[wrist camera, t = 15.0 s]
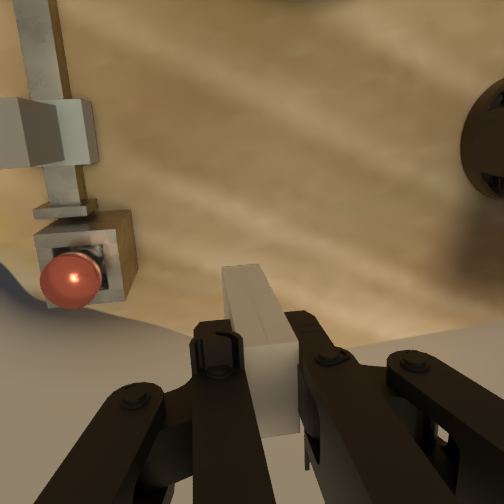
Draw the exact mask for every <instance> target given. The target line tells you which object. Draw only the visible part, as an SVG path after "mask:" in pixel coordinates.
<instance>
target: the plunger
mask: <svg viewBox="0 0 504 504" xmlns="http://www.w3.org/2000/svg"><path fill="white" fill-rule="evenodd" d="M104 267H105V258H104V252H103V248H102V247H101V246H100V245H98V244H97V245H84V246H78V247H77V248H76V249H75V250H74V251H73V252H66V253H62V254H60V255H58V256H56V257H55V258H54V259H52V260H51V261H50V262H49V263H48V264H47V265H46V266H45V267H44V269H43V271H42V273H41V276H40V286H41V289H42V292H43V294H44V295H45V297H46V298H47V299H48V300H49V301H50V302H52V303H53V304H55V305H57V306H59V307H62V308H66V309H76V308H80V307H83V306H85V305H87V304H88V303H90V302H91V301H92V300H93V299H94V297H95V296H96V294H97V292H98V291H99V289H100V287H101V283H102V274H101V271H102V270H103V268H104Z"/></svg>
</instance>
